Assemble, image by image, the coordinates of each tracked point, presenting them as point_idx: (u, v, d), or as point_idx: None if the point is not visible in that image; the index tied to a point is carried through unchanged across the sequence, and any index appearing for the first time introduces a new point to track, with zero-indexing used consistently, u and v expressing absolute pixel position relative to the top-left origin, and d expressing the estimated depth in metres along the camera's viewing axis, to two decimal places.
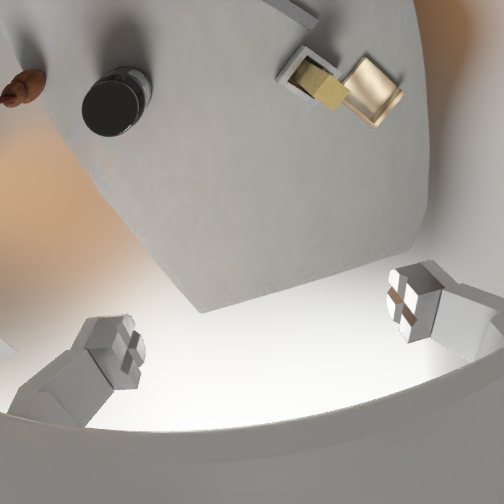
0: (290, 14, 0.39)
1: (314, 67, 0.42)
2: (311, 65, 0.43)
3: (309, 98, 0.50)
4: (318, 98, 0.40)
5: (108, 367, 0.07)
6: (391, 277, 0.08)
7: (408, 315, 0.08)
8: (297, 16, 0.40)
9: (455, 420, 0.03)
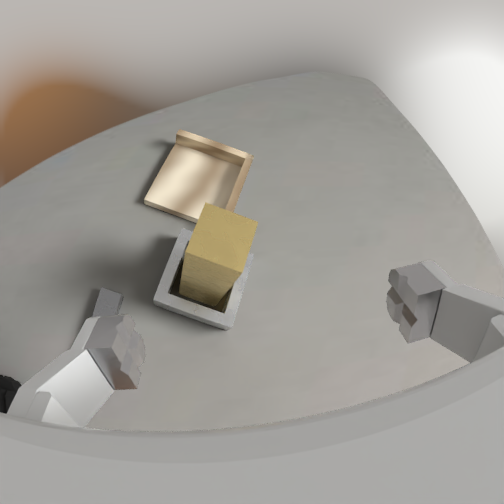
0: None
1: (184, 278, 0.28)
2: (183, 282, 0.29)
3: None
4: (242, 258, 0.22)
5: (108, 367, 0.07)
6: (391, 277, 0.08)
7: (408, 315, 0.08)
8: None
9: (455, 420, 0.03)
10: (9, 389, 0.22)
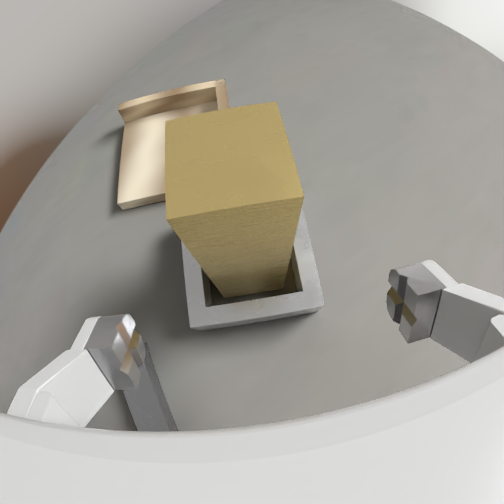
0: (155, 405, 0.19)
1: (212, 273, 0.16)
2: (216, 280, 0.17)
3: None
4: (286, 171, 0.10)
5: (108, 367, 0.07)
6: (391, 277, 0.08)
7: (408, 315, 0.08)
8: (145, 391, 0.19)
9: (455, 420, 0.03)
10: None
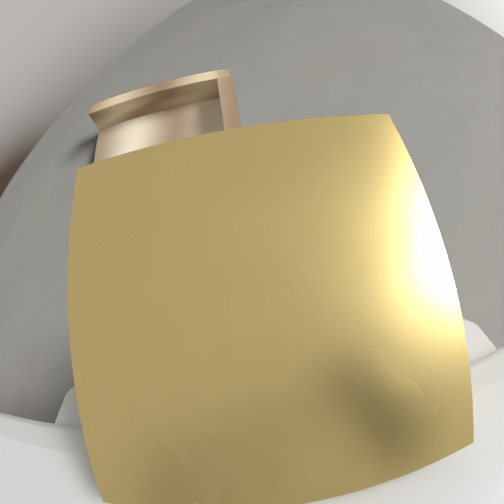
0: None
1: None
2: None
3: None
4: (447, 377, 0.03)
5: None
6: None
7: None
8: None
9: None
10: None
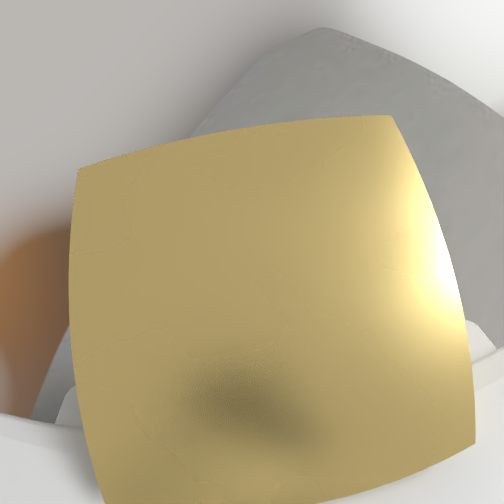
0: None
1: None
2: None
3: None
4: (450, 379, 0.02)
5: None
6: None
7: None
8: None
9: None
10: None
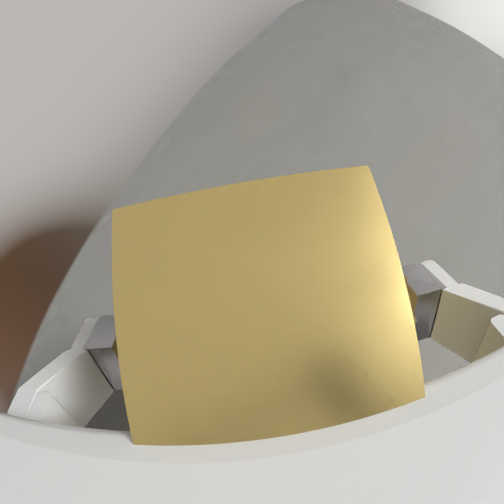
0: None
1: None
2: None
3: None
4: (402, 377, 0.04)
5: (108, 367, 0.07)
6: None
7: None
8: None
9: (455, 420, 0.03)
10: None
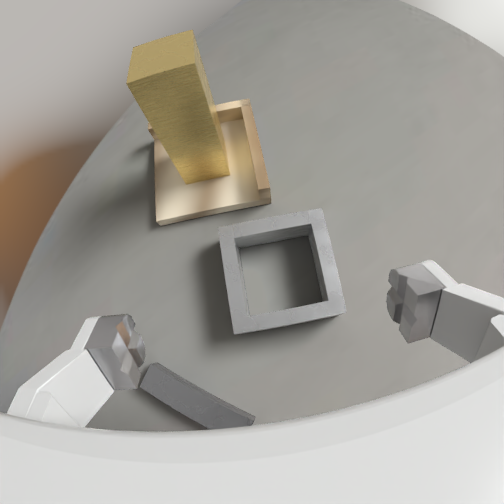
0: (196, 396, 0.23)
1: (164, 142, 0.22)
2: (171, 154, 0.23)
3: (317, 232, 0.24)
4: (188, 55, 0.15)
5: (108, 367, 0.07)
6: (391, 277, 0.08)
7: (408, 315, 0.08)
8: (182, 392, 0.23)
9: (455, 420, 0.03)
10: None
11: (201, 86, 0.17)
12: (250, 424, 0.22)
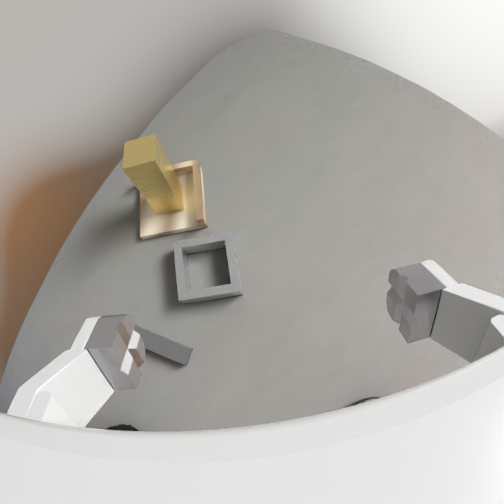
0: (157, 337, 0.41)
1: (143, 193, 0.40)
2: (148, 199, 0.42)
3: (228, 245, 0.43)
4: (152, 154, 0.34)
5: (108, 367, 0.07)
6: (391, 277, 0.08)
7: (408, 315, 0.08)
8: (149, 337, 0.41)
9: (455, 420, 0.03)
10: None
11: (159, 169, 0.36)
12: (188, 350, 0.40)
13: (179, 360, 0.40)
